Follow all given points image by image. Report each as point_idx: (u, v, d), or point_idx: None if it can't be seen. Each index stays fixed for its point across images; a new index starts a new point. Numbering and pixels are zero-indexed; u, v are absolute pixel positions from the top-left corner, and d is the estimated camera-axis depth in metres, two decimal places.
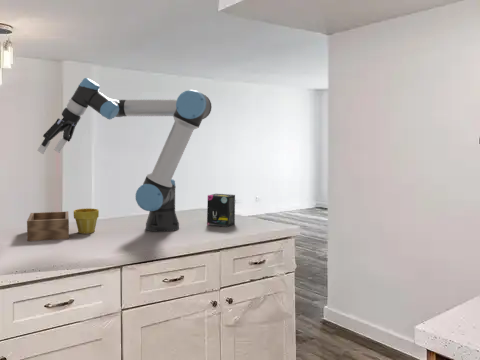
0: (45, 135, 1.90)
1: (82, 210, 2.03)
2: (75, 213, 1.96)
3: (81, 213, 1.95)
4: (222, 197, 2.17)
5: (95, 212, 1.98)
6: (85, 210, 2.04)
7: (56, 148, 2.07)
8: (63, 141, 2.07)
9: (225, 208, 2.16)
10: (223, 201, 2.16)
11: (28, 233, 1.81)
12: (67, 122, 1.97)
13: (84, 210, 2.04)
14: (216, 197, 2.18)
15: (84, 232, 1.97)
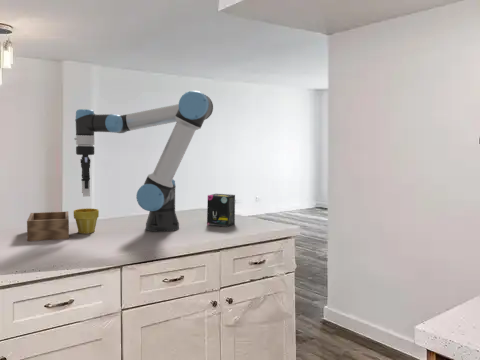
0: (85, 177, 1.89)
1: (82, 210, 2.04)
2: (75, 213, 1.96)
3: (81, 213, 1.95)
4: (222, 197, 2.17)
5: (95, 212, 1.98)
6: (85, 210, 2.04)
7: None
8: None
9: (225, 208, 2.16)
10: (223, 201, 2.16)
11: (28, 233, 1.81)
12: None
13: (84, 210, 2.04)
14: (216, 197, 2.18)
15: (84, 232, 1.97)
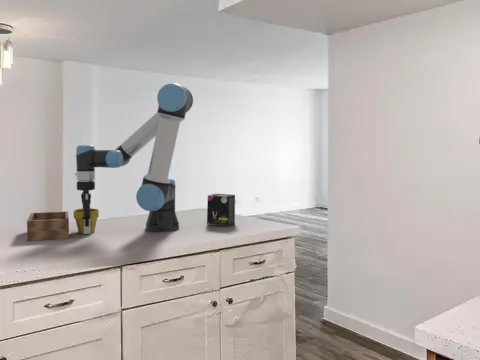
0: (86, 215, 1.92)
1: (82, 210, 2.04)
2: (75, 213, 1.96)
3: (81, 213, 1.95)
4: (222, 197, 2.17)
5: (95, 212, 1.98)
6: None
7: None
8: None
9: (225, 208, 2.16)
10: (223, 201, 2.16)
11: (28, 233, 1.81)
12: (88, 192, 1.98)
13: None
14: (216, 197, 2.18)
15: None
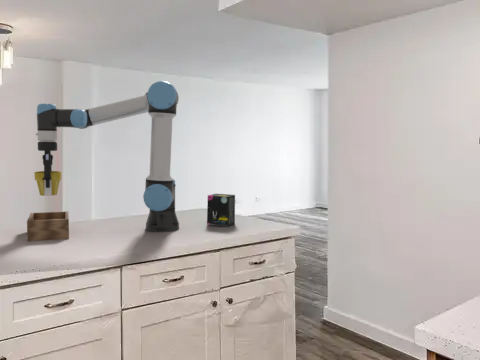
0: (46, 176, 1.84)
1: None
2: (36, 174, 1.88)
3: (42, 174, 1.87)
4: (222, 197, 2.17)
5: (57, 173, 1.90)
6: None
7: None
8: None
9: (225, 208, 2.16)
10: (223, 201, 2.16)
11: (28, 233, 1.81)
12: (50, 153, 1.90)
13: None
14: (216, 197, 2.18)
15: None
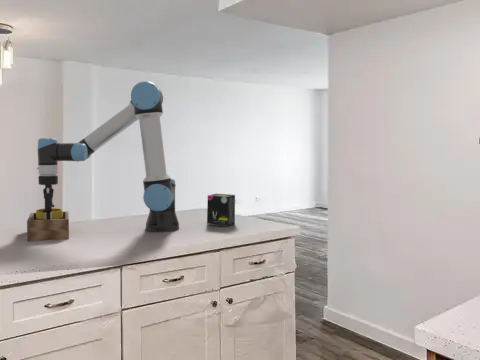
0: (46, 209, 1.84)
1: None
2: (37, 213, 1.90)
3: (43, 213, 1.88)
4: (222, 197, 2.17)
5: (58, 212, 1.92)
6: None
7: None
8: None
9: (225, 208, 2.16)
10: (223, 201, 2.16)
11: (28, 233, 1.81)
12: None
13: None
14: (216, 197, 2.18)
15: None
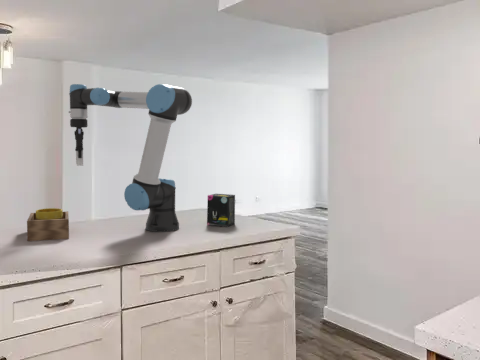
0: (78, 147, 2.03)
1: (46, 210, 1.97)
2: (37, 213, 1.90)
3: (43, 213, 1.88)
4: (222, 197, 2.17)
5: (58, 212, 1.91)
6: (49, 210, 1.98)
7: None
8: None
9: (225, 208, 2.16)
10: (223, 201, 2.16)
11: (28, 233, 1.81)
12: (81, 129, 2.10)
13: (48, 210, 1.98)
14: (216, 197, 2.18)
15: None
